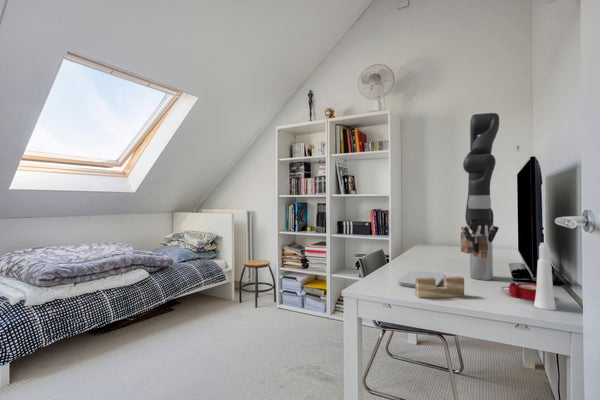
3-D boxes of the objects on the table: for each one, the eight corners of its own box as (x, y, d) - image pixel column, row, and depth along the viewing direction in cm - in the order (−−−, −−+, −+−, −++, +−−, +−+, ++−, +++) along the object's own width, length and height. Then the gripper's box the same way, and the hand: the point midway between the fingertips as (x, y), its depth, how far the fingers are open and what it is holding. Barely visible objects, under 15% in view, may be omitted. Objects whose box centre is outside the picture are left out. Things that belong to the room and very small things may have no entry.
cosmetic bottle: (540, 309, 108) (539, 244, 107) (530, 304, 113) (529, 241, 113) (560, 310, 107) (559, 244, 106) (549, 304, 113) (548, 241, 112)
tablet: (446, 278, 153) (446, 273, 153) (435, 292, 131) (435, 286, 131) (411, 274, 162) (411, 269, 162) (395, 286, 140) (395, 281, 140)
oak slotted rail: (415, 295, 126) (415, 277, 126) (460, 294, 126) (460, 276, 126) (418, 297, 123) (417, 279, 123) (464, 296, 124) (464, 278, 124)
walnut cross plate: (460, 251, 134) (460, 232, 134) (466, 251, 134) (466, 232, 134) (480, 258, 120) (480, 236, 120) (487, 258, 120) (487, 236, 120)
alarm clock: (553, 293, 114) (504, 279, 122) (548, 310, 115) (500, 294, 123) (550, 286, 123) (504, 273, 131) (545, 301, 123) (500, 287, 131)
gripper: (466, 208, 118) (467, 255, 119) (504, 207, 119) (504, 254, 119) (456, 207, 126) (456, 251, 126) (491, 206, 126) (491, 250, 126)
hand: (480, 252), depth 123 cm, fingers closed on walnut cross plate, 2 cm apart
